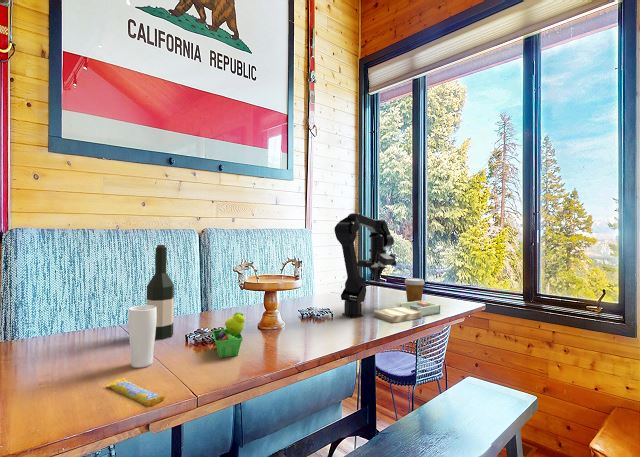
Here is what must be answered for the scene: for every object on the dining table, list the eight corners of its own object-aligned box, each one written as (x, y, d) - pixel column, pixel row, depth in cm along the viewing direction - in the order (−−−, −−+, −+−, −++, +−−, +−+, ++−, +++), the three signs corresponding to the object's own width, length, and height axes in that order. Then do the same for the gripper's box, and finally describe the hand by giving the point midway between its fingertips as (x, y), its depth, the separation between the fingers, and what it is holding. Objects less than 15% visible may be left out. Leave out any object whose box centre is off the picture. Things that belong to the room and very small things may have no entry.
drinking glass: (148, 358, 102) (149, 303, 102) (160, 364, 98) (161, 307, 98) (122, 365, 97) (123, 307, 97) (134, 371, 93) (135, 312, 93)
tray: (418, 316, 154) (419, 308, 154) (400, 311, 163) (400, 303, 163) (440, 313, 161) (440, 305, 161) (420, 308, 170) (421, 300, 170)
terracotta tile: (424, 304, 158) (428, 303, 160) (417, 302, 162) (421, 301, 163) (423, 313, 158) (428, 312, 160) (416, 311, 162) (421, 310, 163)
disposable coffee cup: (426, 303, 180) (427, 279, 180) (420, 307, 172) (421, 281, 172) (407, 301, 185) (408, 277, 185) (401, 304, 177) (401, 279, 177)
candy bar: (167, 402, 78) (167, 393, 78) (149, 411, 75) (149, 401, 75) (123, 383, 87) (123, 375, 87) (105, 389, 84) (105, 381, 84)
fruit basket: (211, 346, 113) (212, 309, 112) (241, 344, 116) (241, 307, 116) (215, 359, 102) (215, 318, 102) (247, 356, 105) (248, 316, 105)
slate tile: (416, 314, 156) (417, 307, 156) (409, 312, 160) (410, 305, 160) (423, 313, 158) (423, 306, 158) (416, 311, 162) (416, 304, 162)
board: (392, 322, 144) (392, 316, 144) (374, 316, 153) (374, 310, 153) (421, 317, 152) (421, 312, 152) (402, 312, 161) (402, 306, 161)
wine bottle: (163, 340, 117) (164, 246, 117) (140, 338, 119) (141, 245, 118) (178, 333, 125) (179, 244, 125) (156, 331, 127) (157, 243, 127)
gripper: (373, 249, 156) (372, 286, 157) (405, 248, 166) (404, 283, 167) (356, 247, 166) (356, 282, 166) (388, 246, 176) (387, 279, 176)
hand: (376, 281), depth 168 cm, fingers closed
